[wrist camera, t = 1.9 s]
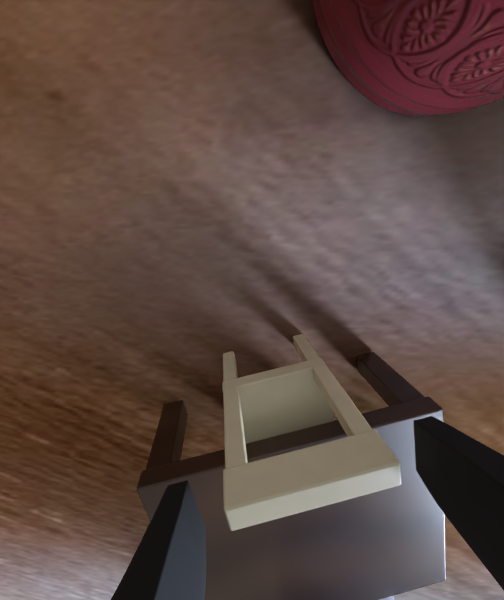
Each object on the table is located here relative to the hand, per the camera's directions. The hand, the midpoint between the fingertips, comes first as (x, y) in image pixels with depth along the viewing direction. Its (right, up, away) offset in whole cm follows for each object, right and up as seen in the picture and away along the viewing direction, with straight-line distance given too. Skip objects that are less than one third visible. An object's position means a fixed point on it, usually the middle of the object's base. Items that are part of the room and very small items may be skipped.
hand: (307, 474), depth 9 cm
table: (+1, -5, +11) cm, 12 cm away
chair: (-1, 0, +9) cm, 9 cm away
